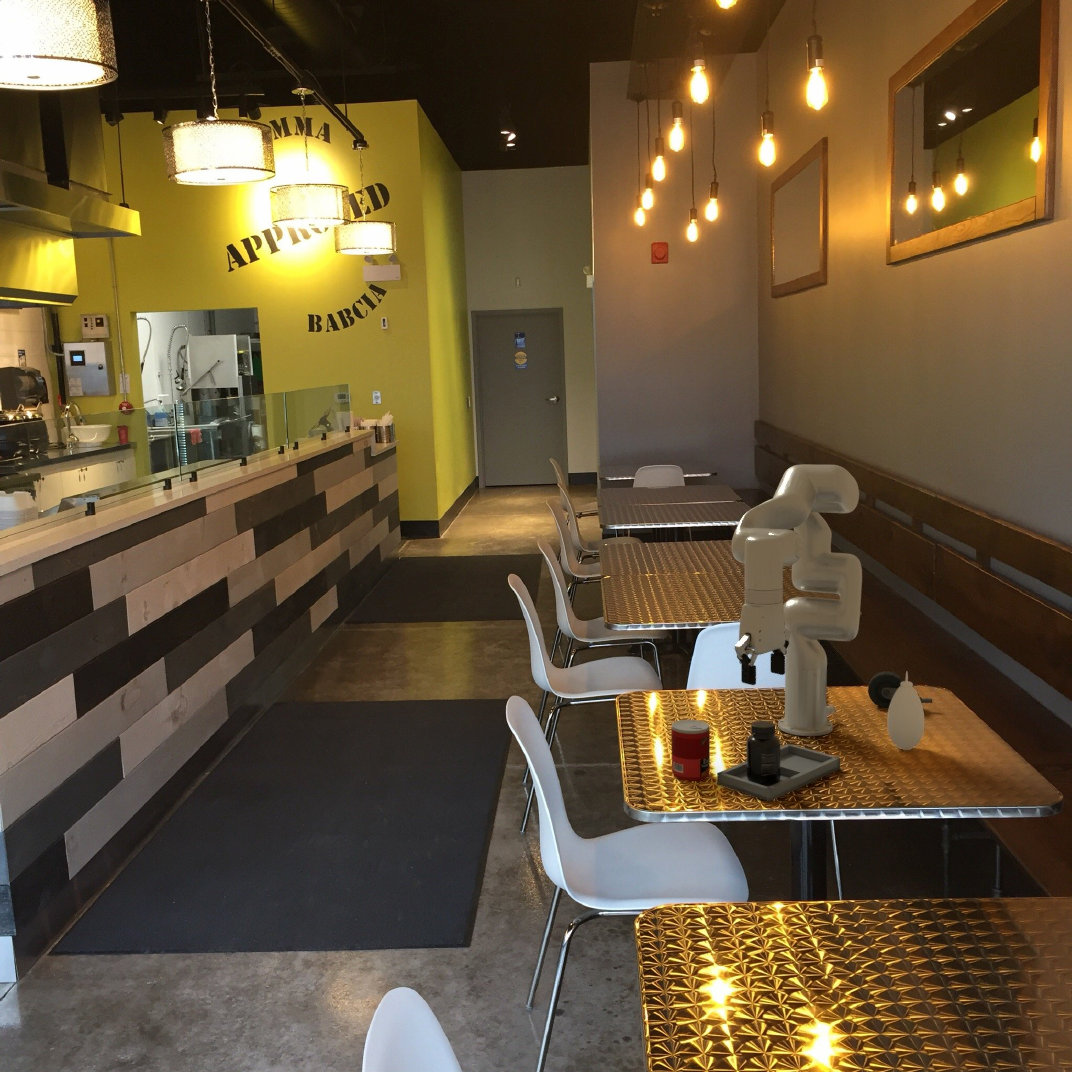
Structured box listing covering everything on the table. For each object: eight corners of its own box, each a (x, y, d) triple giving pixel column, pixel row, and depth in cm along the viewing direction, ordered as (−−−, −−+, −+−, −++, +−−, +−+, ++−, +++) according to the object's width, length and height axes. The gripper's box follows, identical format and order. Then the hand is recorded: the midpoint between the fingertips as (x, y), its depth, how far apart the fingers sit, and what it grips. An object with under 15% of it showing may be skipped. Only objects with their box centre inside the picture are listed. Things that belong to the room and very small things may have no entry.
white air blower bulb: (885, 753, 234) (887, 674, 232) (887, 741, 242) (889, 665, 239) (922, 756, 232) (925, 676, 229) (924, 745, 239) (926, 667, 236)
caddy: (788, 754, 235) (788, 743, 235) (840, 769, 226) (840, 757, 225) (717, 784, 219) (717, 773, 219) (769, 801, 209) (769, 789, 209)
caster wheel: (868, 713, 266) (932, 712, 260) (865, 675, 265) (929, 674, 259) (870, 706, 271) (933, 706, 265) (867, 669, 270) (930, 668, 264)
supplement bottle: (783, 776, 220) (784, 721, 218) (776, 788, 214) (776, 731, 212) (750, 772, 223) (751, 717, 221) (742, 783, 217) (742, 727, 215)
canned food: (709, 782, 220) (708, 731, 219) (670, 780, 222) (669, 730, 220) (710, 769, 228) (710, 719, 226) (673, 767, 229) (672, 718, 228)
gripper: (773, 587, 222) (773, 666, 224) (721, 600, 210) (721, 684, 213) (804, 591, 216) (803, 673, 219) (752, 605, 205) (752, 691, 207)
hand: (763, 678), depth 216 cm, fingers open, 9 cm apart
